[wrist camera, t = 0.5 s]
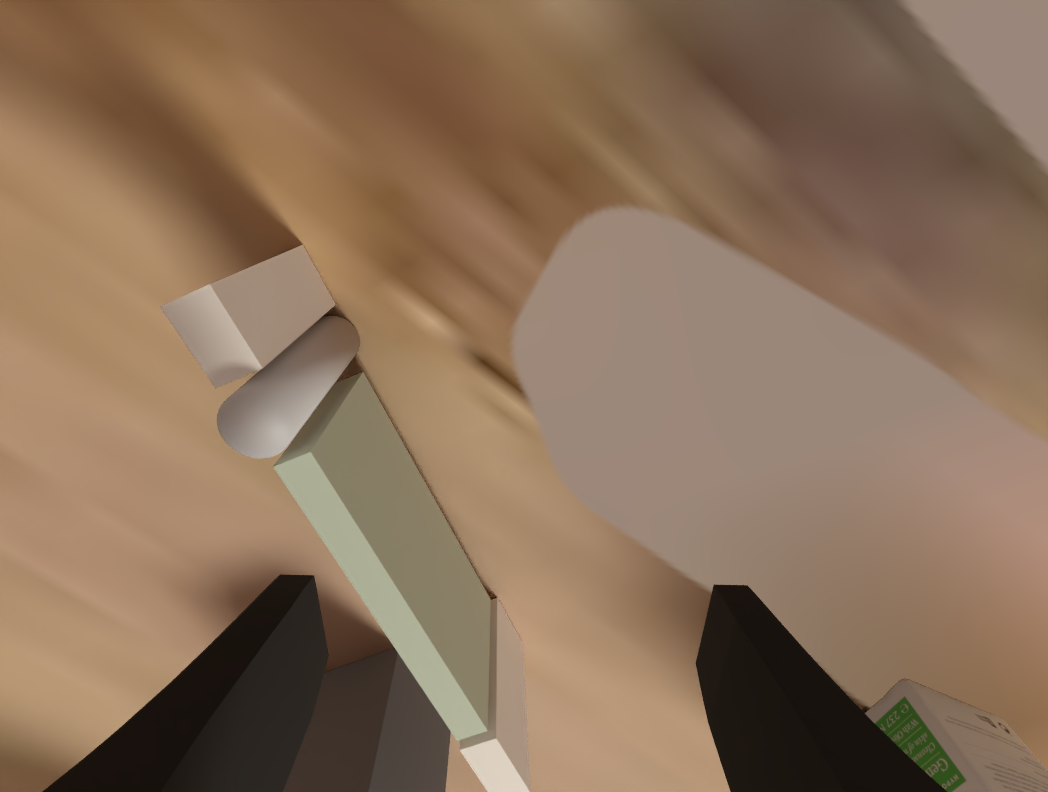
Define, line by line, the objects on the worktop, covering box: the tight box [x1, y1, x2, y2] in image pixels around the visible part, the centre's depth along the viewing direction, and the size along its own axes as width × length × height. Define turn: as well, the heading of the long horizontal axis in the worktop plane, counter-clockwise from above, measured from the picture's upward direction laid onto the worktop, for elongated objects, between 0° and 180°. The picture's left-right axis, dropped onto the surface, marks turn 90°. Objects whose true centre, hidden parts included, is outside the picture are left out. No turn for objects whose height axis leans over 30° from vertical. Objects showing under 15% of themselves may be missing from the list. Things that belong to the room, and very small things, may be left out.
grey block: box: [283, 648, 451, 792], centre depth 22 cm, size 4×5×6 cm
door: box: [273, 372, 491, 741], centre depth 18 cm, size 2×10×6 cm, turn 23°
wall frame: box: [160, 245, 530, 792], centre depth 18 cm, size 2×18×6 cm, turn 22°
